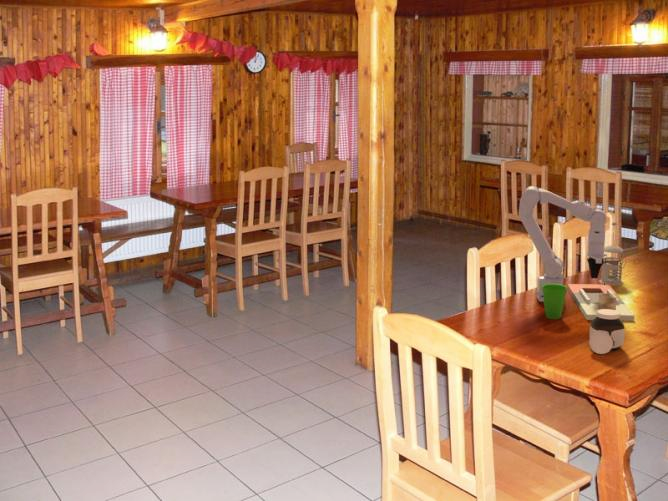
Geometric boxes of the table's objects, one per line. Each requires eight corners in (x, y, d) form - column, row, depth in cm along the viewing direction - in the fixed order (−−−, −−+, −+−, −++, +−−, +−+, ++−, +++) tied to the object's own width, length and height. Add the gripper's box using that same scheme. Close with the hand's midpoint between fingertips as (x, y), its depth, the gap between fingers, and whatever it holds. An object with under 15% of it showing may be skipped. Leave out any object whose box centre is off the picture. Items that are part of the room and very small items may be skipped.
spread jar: (617, 343, 266) (619, 308, 264) (631, 355, 255) (633, 318, 253) (580, 344, 266) (582, 309, 263) (592, 356, 255) (594, 319, 252)
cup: (537, 318, 293) (538, 288, 290) (543, 312, 301) (544, 282, 298) (563, 322, 289) (564, 291, 286) (569, 315, 296) (570, 285, 294)
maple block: (601, 311, 294) (601, 297, 293) (598, 307, 299) (598, 293, 298) (615, 311, 293) (616, 297, 292) (612, 307, 298) (613, 293, 297)
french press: (593, 281, 343) (596, 221, 337) (614, 277, 347) (618, 218, 342) (610, 286, 334) (613, 225, 329) (632, 283, 339) (636, 222, 333)
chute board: (586, 320, 290) (587, 310, 290) (567, 288, 331) (567, 280, 330) (634, 321, 289) (634, 311, 288) (608, 289, 329) (609, 280, 329)
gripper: (611, 246, 300) (609, 283, 303) (604, 238, 314) (601, 273, 317) (591, 246, 301) (588, 282, 304) (584, 238, 315) (582, 273, 318)
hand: (594, 277), depth 310 cm, fingers closed
